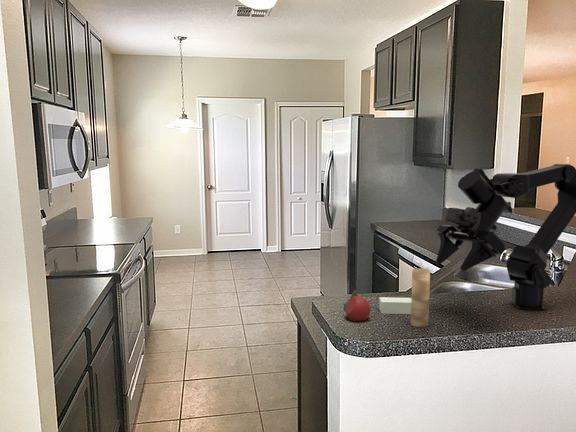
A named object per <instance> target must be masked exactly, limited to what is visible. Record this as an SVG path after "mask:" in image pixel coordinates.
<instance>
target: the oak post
mask: <svg viewBox="0 0 576 432" xmlns="http://www.w3.org/2000/svg"><path fill="white" fill-rule="evenodd" d="M411 272H412V273H411V297H410V298H411V314H410V325H411V326H412V327H417V328H427V327H428V326H429V315H430V313H429V311H430V310H429V309H430V290H431V289H430V287H431V284H430V282H431V270H430V269H429V268H423V267H422V268H421V267H417V268H416V267H414V268H412V271H411Z"/></svg>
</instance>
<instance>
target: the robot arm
mask: <svg viewBox="0 0 576 432" xmlns="http://www.w3.org/2000/svg"><path fill="white" fill-rule="evenodd" d="M553 183H554V187H555V188H556V189H557V203H556V205H555V206H554V208H553V209H552V210H551V212H550V213H549V214H548V216H547V218H546V219H545V220H544V221H543V223H542V224H541V226H540V227H539V229H538V230H537V231H536V233H535V234H534V236H533V237H532V239H531V240H530V241H529V243H528V244H525V245H522V244H521V245H520V244H517V245H515V246H514V248H513V250H512V252H511V253H510V254H509V255H508V256H507V257H508V259H507V261H506V269H507V274H508V278H509V280H510V281H511V282H512V281H514V282H513V283H514V286H512V287H511V288H512V289H511V300H510V303H511V304H512V305H513V306H515V307H516V308H517V309H519V310H523V311H525V310H528V311H529V310H533V311H538V310H539V311H545V310H546V307H544V305H543V303H544V300H543V299H544V292H545V291H544V289H546V288H547V287H550V285H551V283H552V277H551V276H550V275H549V273H548V272H547V271H546V268H547V266H548V262H547V261H548V259H547V256H548V254H549V252H550V250H551V249H552V247H554V244H555V243H556V242H557V240H558V239H559V238H560V236H561V235H562V233H563V232H564V231H565V229H566V228H567V226H568V225H569V223H570V222H571V220H572V219H573V217H574V216H575V215H576V167H575V166H574V165H571V164H569V163H566V164H565V163H555V164H553V165H550V166H546V167H541V168H538V169H533V170H530V171H526V172H520V173H512V172H511V173H504V172H503V173H495V174H494V175H493V176H492V178H489V177H488V175H486V173H485V171H484V170H483V169H482V168H474V169H473V170H472V171H470V172H468V173H467V174H465V175H464V176H462V177H461V178H460V179H459V181H458V182H457V187H458V189H459V190H461V192H462V193H463V195H465V197H466V198H467V199H468V200H469V201H470V202H471V203H472V204H474V205H477V206H476V207H475V208H474V207H473V206H472V207H470V206H469V207H468V206H467V207H465V209H464V208H459V207H448V208H447V211H446V215H445V217H444V221H446V222H450V223H452V224H455V227H456V228H455V227H454V226H453V225H447V224H441V225H439V227H438V228H437V229H436V231H435V232H436V234H437V237H439V239H440V245H439V246H440V247H439V250H438V253H437V256H436V261H435V263H436V264H437V265H441V264H442V263H445V261H446V260H447V259H449V258H450V257H451V256H452V255H453V254H455V253H456V252H457V251H458V250H459V249H460V248H459V247H460V246H462V245H463V243H464V242H466V243H471V249H470V251H469V253H467V255H466V257H465V258H464V260H463V262H462V264H461V266H460V267H459V270H461V271H462V272H466V271H467V270H469V269H471V268H473V267H475V266H476V265H479V264H481V263H482V262H485V261H487V260H489V259H491V258H496V256H499V257H500V256H502V255H503V253H504V251H505V250H506V244H505V242H504V241H503V240H502V239H501V238H500V237H499V236H498V234H496V233H495V232H494V231H496V229H497V228H498V226H496V223H497V222H498V221H499V219H500V217H501V216H502V215H503V213H505V214H513V208H512V202H510V201H507V200H505V198H511V199H518V198H520V197H522V196H524V195H526V194H528V193H529V192H530V190H532V189H534V188H539V187H543V186H545V185H549V184H553ZM457 229H458V230H460V232H459V231H458V230H457Z"/></svg>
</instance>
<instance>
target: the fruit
mask: <svg viewBox="0 0 576 432" xmlns="http://www.w3.org/2000/svg"><path fill="white" fill-rule="evenodd" d="M348 299H349V301H348V300H347V301H348V302H347V301H346V302H347V304H346V307H345V308H344V311H345V314H346V316H347V318H348V319H349V320H351V321H354V322H364V321H366V320H367V319H368V318H369V316H370V314H371V304H372V303H373V302H374V301H375V300H376V299H379V296H376V298H375V299H372V301H371V302H369V301H368V300H367V299H366V298H365V297H363V296H360V295H357V296H355V297H352V298H348Z"/></svg>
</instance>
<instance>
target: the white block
mask: <svg viewBox="0 0 576 432" xmlns="http://www.w3.org/2000/svg"><path fill="white" fill-rule="evenodd" d="M378 297H379V296H378ZM378 305H379V306H378V309H379V311H380V314H384V315H386V314H387V315H411V297H386V296H385V297H383V296H380V297H379V298H378Z"/></svg>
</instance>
